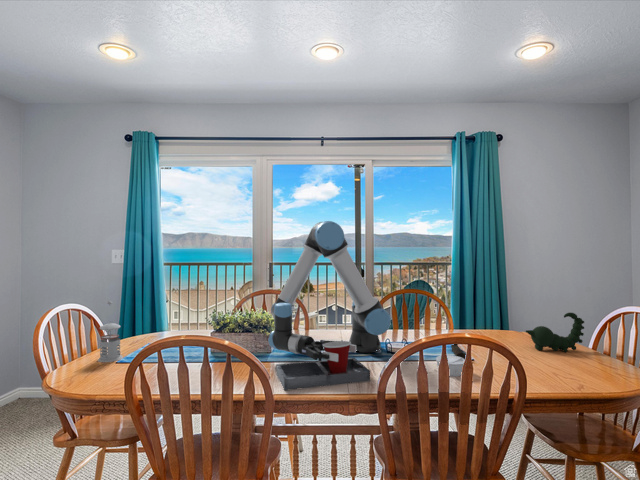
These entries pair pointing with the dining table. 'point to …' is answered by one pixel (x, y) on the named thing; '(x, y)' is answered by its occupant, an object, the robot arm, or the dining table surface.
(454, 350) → the hand tool
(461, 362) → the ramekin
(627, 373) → the dining table surface
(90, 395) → the dining table surface
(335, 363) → the plastic cup
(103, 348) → the french press
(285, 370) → the tray
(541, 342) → the toy figurine
